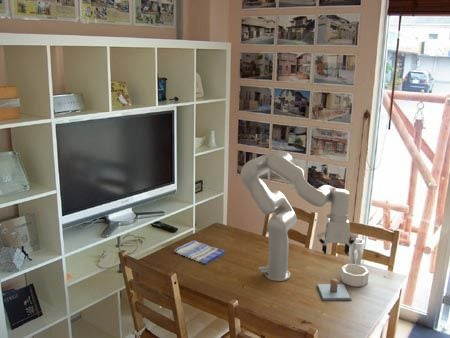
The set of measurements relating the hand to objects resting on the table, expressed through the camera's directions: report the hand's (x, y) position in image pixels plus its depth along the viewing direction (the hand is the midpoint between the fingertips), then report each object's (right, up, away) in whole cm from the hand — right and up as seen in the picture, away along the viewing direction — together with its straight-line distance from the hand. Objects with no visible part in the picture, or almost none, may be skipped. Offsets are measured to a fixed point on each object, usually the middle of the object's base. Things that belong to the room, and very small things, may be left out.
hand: (335, 252), depth 208 cm
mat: (0, -19, +4) cm, 19 cm away
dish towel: (-63, -9, +43) cm, 77 cm away
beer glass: (+16, -13, +27) cm, 34 cm away
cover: (0, -19, +3) cm, 19 cm away
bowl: (+12, -16, +14) cm, 25 cm away
